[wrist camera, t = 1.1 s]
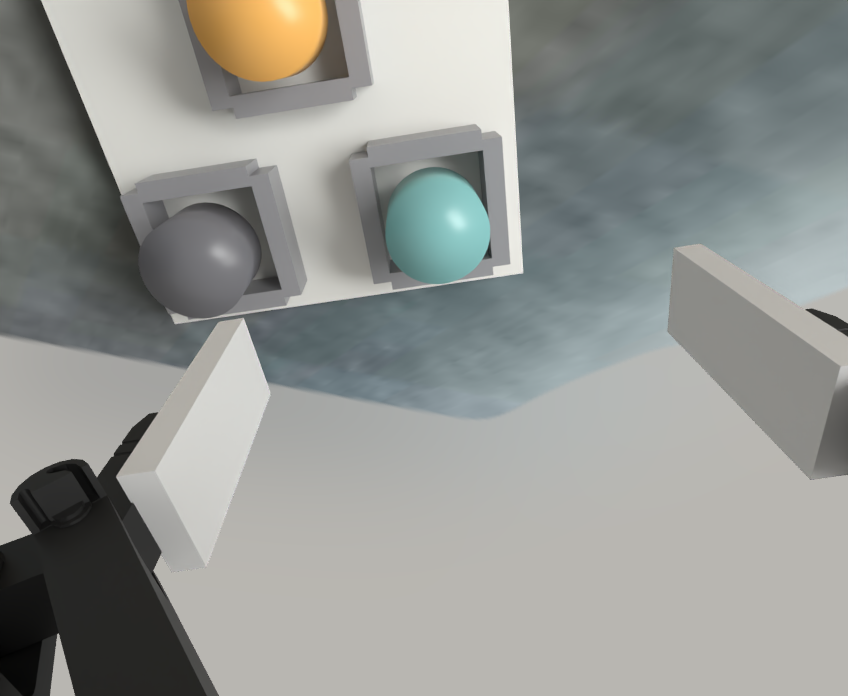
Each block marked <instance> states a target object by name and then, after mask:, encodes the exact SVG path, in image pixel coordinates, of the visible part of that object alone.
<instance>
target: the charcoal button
mask: <svg viewBox="0 0 848 696" xmlns="http://www.w3.org/2000/svg"><path fill="white" fill-rule="evenodd" d="M261 256H262V252H261V245H260V241H259V239H258V236H257V234H256V232H255V230H254V229H253V227H252V226H251V225H250V224H249V222H248V221H247V220H246V219H245V218H244V217H243V216H241V215H240V214H239V213H237V212H236V211H234V210H232V209H231V208H228V207H226V206H224V205H220V204H216V203H208V202H203V203H196V204H192V205H189V206H187V207H185V208H183V209H182V210H180V211H179V212H178V213H176V214H175V215H173V216H172V217H171V218H169V219H168V220H166V221H165V222H164V223H162V224H161V225H159V226H158V227H157V228H155V229H154V230H153V231H151V232H150V233H149V234H148V235H147V236H146V238H145V239H144V241H143V243H142V245H141V247H140V251H139V257H138V264H139V271H140V274H141V277H142V280H143V282H144V284H145V286H146V287H147V289H148V290H149V292H150V293H151V294H152V296H153V297H154V298H155V299H156V300H157V301H158V302H160V303H161V304H162V305H163V306H165V307H166V308H168V309H169V310H171V311H173V312H175V313H177V314H180V315H183V316H186V317H190V318H199V319H205V318H213V317H217V316H220V315H222V314H224V313H226V312H228V311H229V310H230V309H232V308H233V307H234V306H235V305H236V304H237V302H238V301H239V300H240V298H241V297H242V295H243V294H244V292H245V291H246V289H247V288H248V286H249V284H250V283H251V281H252V280H253V278H254V277H255V275H256V274H257V272H258V270H259V267H260V264H261Z"/></svg>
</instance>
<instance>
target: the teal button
mask: <svg viewBox="0 0 848 696" xmlns="http://www.w3.org/2000/svg"><path fill="white" fill-rule="evenodd" d="M385 237H386V244H387V248H388V251H389V254H390V256H391V258H392V260H393V261H394V263H395V264H396V265H397V267H398V268H399V269H400V270H401V271H402V272H404V273H405V274H406V275H408V276H409V277H411V278H413V279H415V280H417V281H420V282H423V283H428V284H445V283H450V282H453V281H456V280H459V279H461V278H463V277H464V276H466V275H467V274H469V273H470V272H471V271H473V270H474V269H475V268H476V267H477V265H478V264H479V263H480V262H481V260H482V259H483V257H484V255H485V253H486V251H487V248H488V245H489V241H490V223H489V219H488V215H487V213H486V210H485V208H484V206H483V204H482V203H481V201H480V199H479V197H478V195H477V193H476V191H475V190H474V188H473V187H472V185H471V184H470V183H469V182H468V181H467V180H466V179H465V178H464V177H463V176H461V175H460V174H459V173H457V172H455V171H453V170H450V169H447V168H442V167H428V168H423V169H420V170H417V171H415V172H413V173H411V174H409V175H408V176H406V177H405V178H404V179H403V180H402V181H401V182H400V183H399V184H398V185H397V186H396V188H395V189H394V191H393V193H392V195H391V197H390V200H389V203H388V209H387V218H386V230H385Z"/></svg>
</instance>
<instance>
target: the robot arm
mask: <svg viewBox="0 0 848 696" xmlns="http://www.w3.org/2000/svg"><path fill="white" fill-rule="evenodd" d="M668 333H669V334H670V335H671V336H672V337H673V338H674V339H675V340H676V341H677V342H678V343H679V344H680V345H681V346H682V347H683V348H684V349H685V350H686V351H687V352H688V353H689V354H690V356H691V357H693V359H694V360H695V361H696V362H697V363H698V364H699V365H700V366H701V367H702V368H703V369H704V370H705V371H706V372H707V373H708V374H709V375H710V376H711V377H712V378H713V379H714V380H715V381H716V382H717V383H718V384H719V386H721V388H722V389H723V390H724V391H725V392H726V393H727V394H728V395H729V396H730V397H731V398H732V399H733V400H734V401H735V402H736V403H737V404H738V405H739V406H740V407H741V408H742V409H743V410H744V411H745V413H746V414H747V415H748V416H749V417H750V418H751V419H752V420H753V421H754V422H755V423H756V424H757V425H758V426H759V427H760V428H761V429H762V430H763V431H764V432H765V433H766V434H767V435H768V436H769V437H770V438H771V439H772V440H773V441H774V443H775V444H777V446H778V447H779V448H780V449H781V450H782V451H783V452H784V453H785V454H786V455H787V456H788V457H789V458H790V459H791V460H792V461H793V462H794V463H795V464H796V465H797V466H798V467H799V468H800V470H801V471H803V473H804V474H805V475H806V476H807V477H808V478H809V479H810V480H814V479H821V478H827V477H834V476H841V475H848V323H846V322H844V321H843V320H841V319H839V318H838V317H836V316H833V315H830V314H827V313H824V312H821V311H817V310H814V309H803V308H802V307H800V306H798V305H797V304H795V303H794V302H792V301H790V300H789V299H787V298H786V297H784V296H783V295H781V294H779V293H778V292H776V291H775V290H773V289H772V288H770V287H768V286H767V285H765V284H764V283H762V282H760V281H759V280H757V279H756V278H754V277H753V276H751V275H749V274H748V273H746V272H745V271H743V270H741V269H740V268H738V267H737V266H735V265H734V264H732V263H730V262H729V261H727V260H726V259H724V258H722V257H721V256H719V255H718V254H716V253H715V252H713V251H711V250H710V249H708V248H707V247H705V246H704V245H702V244H695V245H689V246H683V247H677V248H674V252H673V265H672V279H671V292H670V305H669V318H668ZM270 395H271V393H270V390H269V387H268V384H267V382H266V379H265V376H264V373H263V371H262V368H261V365H260V362H259V359H258V357H257V354H256V351H255V348H254V345H253V343H252V340H251V337H250V334H249V331H248V329H247V326H246V323H245V320H244V318H240V319H234V320H227V321H221V322H218V324H217V325H216V327H215V328H214V330H213V331H212V333H211V334H210V336H209V337H208V339H207V340H206V342H205V343H204V345H203V346H202V348H201V349H200V351H199V352H198V354H197V355H196V357H195V358H194V360H193V361H192V363H191V364H190V366H189V367H188V369H187V370H186V372H185V373H184V375H183V376H182V378H181V380H180V381H179V382H178V384H177V385H176V387H175V389H174V390H173V391H172V393H171V394H170V396H169V398H168V399H167V400H166V402H165V404H164V405H163V407H162V408H161V409H160V411H159V412H157V413H151V414H148V415H147V416H146V417H145V418H143V419H142V420H141V421H140V422H138V423H137V424H136V425H135V426H134V427H133V428H132V429H131V430H130V432H129V433H128V435H127V436H126V437H125V439H124V440H123V441H122V445H120V446H119V447H118V449H117V450H116V451H115V453H114V457H111V458H110V460H109V461H108V463H107V464H106V466H105V467H104V468H103V470H102V471H101V473H100V474H99V475H98V477H96V476H95V474H94V473H93V471H92V469H91V468H90V466H89V465H88V463H86V462H85V461H83V460H78V459H71V460H66V461H62V462H58V463H55V464H53V465H51V466H48V467H46V468H44V469H42V470H40V471H38V472H37V473H35V474H33V475H32V476H30V477H29V478H28V479H26V480H25V481H24V482H23V483H22V484H21V485H19V486H18V488H17V489H16V490H15V492H14V493H13V494H12V496H11V501H10V504H11V506H12V507H13V508H14V510H15V511H16V512H17V514H18V515H19V516H20V518H21V519H22V520H23V522H24V523H25V524H26V526H27V527H28V529H29V530H30V531H31V533H32V534H31V535H28V536H25V537H23V538H20V539H17V540H14V541H11V542H9V543H6V544H3V545H1V546H0V696H50V689H51V680H52V672H53V664H54V656H55V647H56V639H57V634H58V633H59V635H60V639H61V643H62V647H63V651H64V654H65V658H66V662H67V666H68V669H69V674H70V677H71V681H72V685H73V689H74V693H75V696H219V695H218V693H217V691H216V689H215V687H214V686H213V684H212V682H211V680H210V678H209V676H208V674H207V672H206V670H205V668H204V666H203V664H202V662H201V660H200V658H199V656H198V655H197V653H196V651H195V649H194V647H193V645H192V643H191V641H190V639H189V637H188V635H187V633H186V632H185V629H184V628H183V626H182V624H181V622H180V620H179V618H178V616H177V614H176V612H175V610H174V608H173V606H172V604H171V603H170V601H169V599H168V597H167V595H166V593H165V591H164V589H163V587H162V585H161V583H160V581H159V580H158V578H157V576H156V575H155V573H154V571H153V570H154V568H155V566H156V563H157V561H158V559H159V557H160V555H162V557H163V558H164V560H165V562H166V563H167V565H168V567H169V569H170V570H171V572H179V571H185V570H192V569H199V568H206V567H207V565H208V562H209V559H210V557H211V554H212V551H213V548H214V546H215V543H216V540H217V538H218V535H219V532H220V529H221V527H222V524H223V521H224V519H225V516H226V513H227V511H228V508H229V505H230V503H231V500H232V497H233V495H234V492H235V489H236V486H237V483H238V481H239V478H240V475H241V473H242V470H243V468H244V465H245V462H246V459H247V457H248V454H249V451H250V449H251V446H252V443H253V441H254V438H255V435H256V432H257V430H258V427H259V424H260V422H261V419H262V416H263V414H264V411H265V408H266V406H267V403H268V400H269V397H270Z"/></svg>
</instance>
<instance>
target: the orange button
mask: <svg viewBox="0 0 848 696" xmlns="http://www.w3.org/2000/svg"><path fill="white" fill-rule="evenodd" d="M186 2H187V9H188V14H189V18H190V22H191V24H192V27H193V30H194V32H195V34H196V36H197V38H198V40H199V42H200V43H201V45H202V46H203V48H204V49H205V51H206V52H207V53H208V54H209V56H210V57H211V58H212V59H213V60H214V61H215V62H216V63H217V64H219V65H220V66H221V67H222V68H224V69H225V70H227V71H228V72H230V73H232V74H234V75H236V76H238V77H240V78H243V79H246V80H251V81H258V82H266V81H273V80H278V79H282V78H287V77H291V76H294V75H297V74H299V73H301V72H303V71H304V70H306V69H307V68H308V67H310V66H311V65H312V64H313V62H314V61H315V60H316V59H317V57H318V56H319V54H320V53H321V51H322V48H323V46H324V43H325V40H326V36H327V30H328V13H327V6H326V2H325V0H186Z"/></svg>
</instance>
